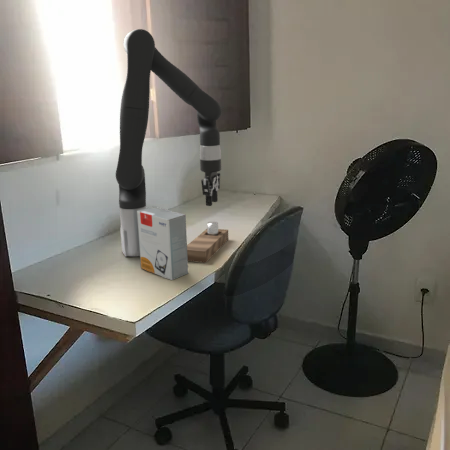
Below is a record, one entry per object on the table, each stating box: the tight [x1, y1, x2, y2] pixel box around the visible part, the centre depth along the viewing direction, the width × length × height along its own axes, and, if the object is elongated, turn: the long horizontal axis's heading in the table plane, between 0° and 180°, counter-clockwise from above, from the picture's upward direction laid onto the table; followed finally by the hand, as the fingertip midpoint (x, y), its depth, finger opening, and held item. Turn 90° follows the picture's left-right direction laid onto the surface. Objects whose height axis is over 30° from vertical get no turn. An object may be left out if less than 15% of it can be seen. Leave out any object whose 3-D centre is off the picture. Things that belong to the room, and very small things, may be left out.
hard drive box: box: [137, 206, 189, 281], centre depth 162 cm, size 16×8×20 cm, turn 47°
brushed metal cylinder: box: [206, 221, 219, 236], centre depth 189 cm, size 4×4×8 cm
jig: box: [187, 228, 229, 263], centre depth 184 cm, size 25×8×4 cm, turn 162°
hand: (211, 203), depth 186 cm, fingers open, 5 cm apart
